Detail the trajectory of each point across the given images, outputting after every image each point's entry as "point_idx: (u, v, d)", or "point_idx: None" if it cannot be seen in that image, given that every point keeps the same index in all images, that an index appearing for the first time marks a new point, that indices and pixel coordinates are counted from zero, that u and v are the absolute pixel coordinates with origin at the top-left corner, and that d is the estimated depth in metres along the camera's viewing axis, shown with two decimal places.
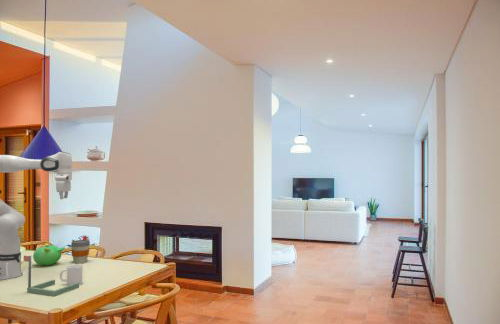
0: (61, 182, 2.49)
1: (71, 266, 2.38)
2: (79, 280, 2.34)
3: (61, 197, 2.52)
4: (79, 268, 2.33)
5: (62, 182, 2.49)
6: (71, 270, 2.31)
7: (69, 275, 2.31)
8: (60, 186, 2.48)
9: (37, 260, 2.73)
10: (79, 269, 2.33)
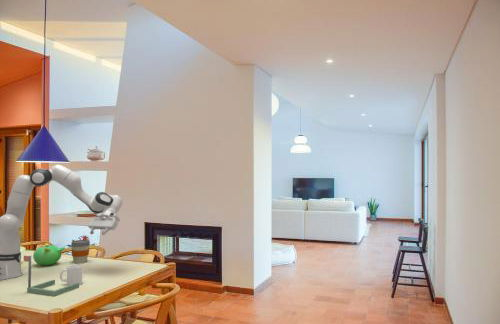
0: (117, 221, 2.60)
1: (71, 266, 2.38)
2: (79, 280, 2.34)
3: (104, 232, 2.54)
4: (79, 268, 2.33)
5: (117, 222, 2.60)
6: (71, 270, 2.31)
7: (69, 275, 2.31)
8: (116, 224, 2.58)
9: (37, 260, 2.73)
10: (79, 269, 2.33)
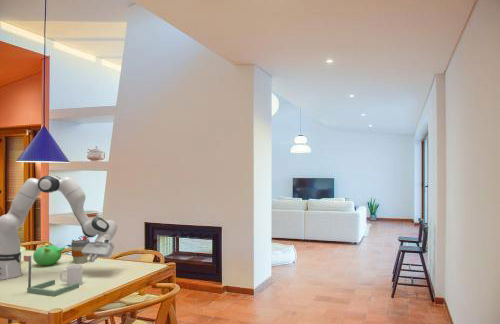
0: (112, 249, 2.55)
1: (71, 266, 2.38)
2: (79, 280, 2.34)
3: (93, 260, 2.50)
4: (79, 268, 2.33)
5: (112, 249, 2.55)
6: (71, 270, 2.31)
7: (69, 275, 2.31)
8: (110, 251, 2.53)
9: (37, 260, 2.73)
10: (79, 269, 2.33)
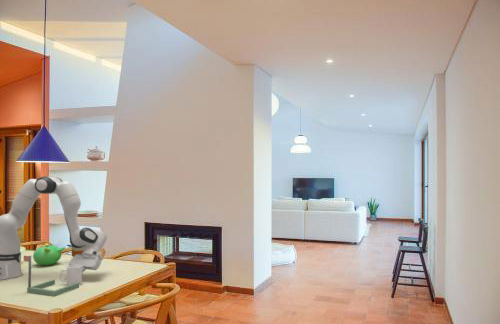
0: (100, 261, 2.44)
1: (71, 266, 2.38)
2: (79, 280, 2.33)
3: None
4: (79, 268, 2.33)
5: (100, 261, 2.45)
6: (70, 270, 2.31)
7: (69, 275, 2.31)
8: (98, 264, 2.42)
9: (37, 260, 2.73)
10: (79, 269, 2.33)
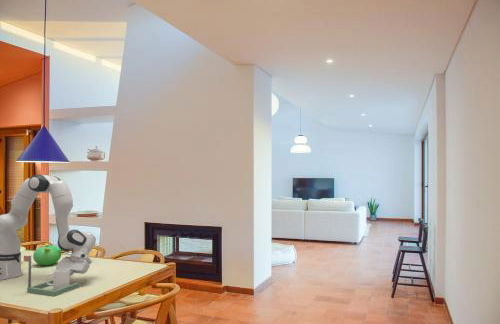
0: (88, 264, 2.35)
1: (58, 270, 2.28)
2: (66, 285, 2.24)
3: None
4: (66, 272, 2.24)
5: (89, 264, 2.36)
6: (57, 274, 2.22)
7: (55, 279, 2.22)
8: (87, 267, 2.33)
9: (37, 260, 2.73)
10: (66, 273, 2.24)
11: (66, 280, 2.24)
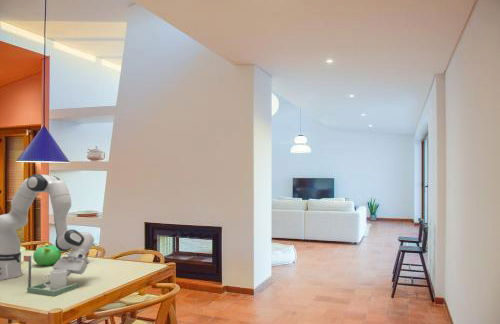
0: (86, 264, 2.33)
1: (55, 271, 2.26)
2: (63, 286, 2.22)
3: None
4: (62, 273, 2.22)
5: (86, 265, 2.34)
6: (54, 275, 2.20)
7: (52, 280, 2.20)
8: (84, 268, 2.31)
9: (37, 260, 2.73)
10: (62, 274, 2.22)
11: (63, 281, 2.22)
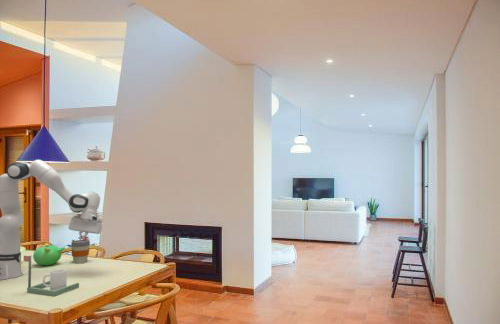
0: (101, 224, 2.56)
1: (55, 271, 2.26)
2: (63, 286, 2.22)
3: (84, 237, 2.53)
4: (63, 273, 2.22)
5: (101, 224, 2.56)
6: (54, 275, 2.20)
7: (52, 280, 2.20)
8: (100, 228, 2.55)
9: (37, 260, 2.73)
10: (63, 274, 2.22)
11: (63, 281, 2.22)
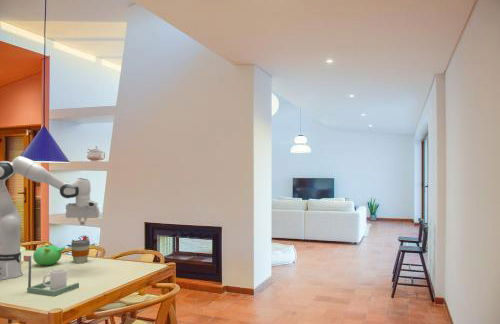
0: None
1: (55, 271, 2.26)
2: (63, 286, 2.22)
3: (84, 222, 2.61)
4: (63, 273, 2.22)
5: None
6: (54, 275, 2.20)
7: (52, 280, 2.20)
8: (98, 211, 2.63)
9: (37, 260, 2.73)
10: (63, 274, 2.22)
11: (63, 281, 2.22)
